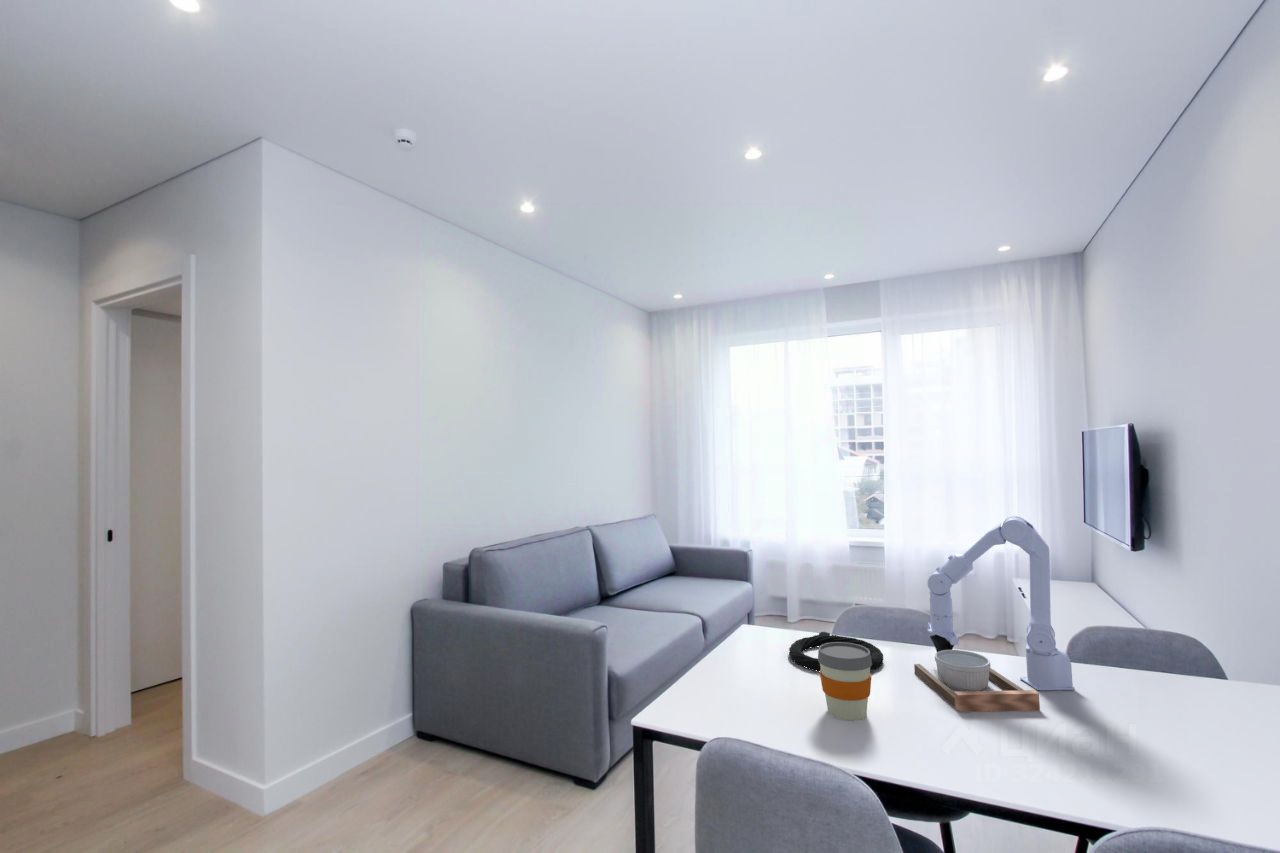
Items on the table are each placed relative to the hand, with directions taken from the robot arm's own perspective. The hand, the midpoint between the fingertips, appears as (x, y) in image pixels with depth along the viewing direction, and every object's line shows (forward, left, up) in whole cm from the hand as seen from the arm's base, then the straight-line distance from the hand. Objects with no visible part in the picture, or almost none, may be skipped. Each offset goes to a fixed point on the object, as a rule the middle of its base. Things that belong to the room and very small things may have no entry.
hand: (944, 662), depth 168 cm
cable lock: (+28, -12, -2) cm, 30 cm away
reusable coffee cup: (+36, +26, -2) cm, 45 cm away
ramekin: (0, +10, -2) cm, 11 cm away
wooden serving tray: (0, +14, -2) cm, 15 cm away
